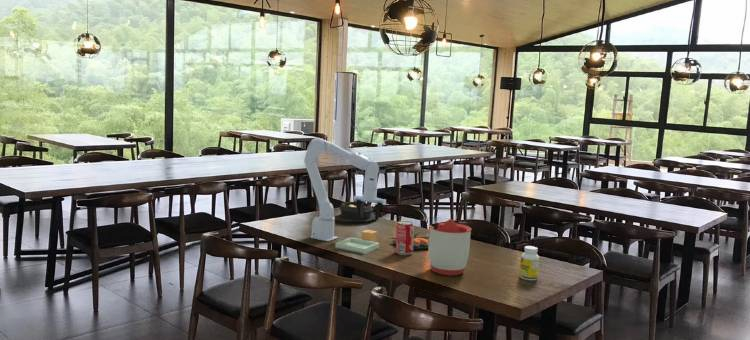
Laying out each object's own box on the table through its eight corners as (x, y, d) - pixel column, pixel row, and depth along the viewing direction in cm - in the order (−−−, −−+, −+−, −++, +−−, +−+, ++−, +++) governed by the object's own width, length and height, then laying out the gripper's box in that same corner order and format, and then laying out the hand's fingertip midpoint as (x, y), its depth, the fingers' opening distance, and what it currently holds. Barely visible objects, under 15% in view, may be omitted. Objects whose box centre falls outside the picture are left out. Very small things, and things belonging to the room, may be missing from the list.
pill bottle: (516, 275, 224) (519, 244, 223) (533, 275, 225) (536, 245, 223) (522, 280, 218) (525, 249, 216) (539, 281, 218) (542, 250, 217)
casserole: (348, 227, 286) (348, 210, 285) (324, 219, 299) (325, 203, 298) (386, 221, 302) (387, 205, 301) (362, 214, 316) (363, 199, 315)
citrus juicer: (437, 261, 236) (440, 211, 234) (476, 272, 226) (480, 219, 223) (414, 269, 224) (417, 217, 222) (453, 280, 214) (457, 225, 211)
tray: (335, 248, 248) (335, 242, 248) (351, 242, 259) (351, 237, 258) (364, 254, 241) (364, 248, 241) (379, 248, 252) (379, 243, 251)
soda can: (412, 256, 242) (413, 225, 240) (394, 255, 243) (396, 223, 241) (413, 251, 249) (414, 221, 247) (396, 250, 250) (397, 219, 248)
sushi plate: (403, 253, 248) (403, 244, 247) (377, 235, 276) (377, 227, 275) (465, 249, 258) (465, 241, 258) (434, 232, 286) (434, 225, 286)
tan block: (360, 242, 259) (361, 231, 258) (366, 240, 263) (367, 229, 263) (370, 244, 257) (371, 233, 256) (376, 242, 261) (377, 231, 260)
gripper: (351, 187, 261) (350, 217, 263) (382, 191, 256) (380, 222, 257) (358, 185, 268) (356, 215, 269) (388, 189, 262) (386, 219, 264)
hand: (368, 218), depth 264 cm, fingers open, 7 cm apart
